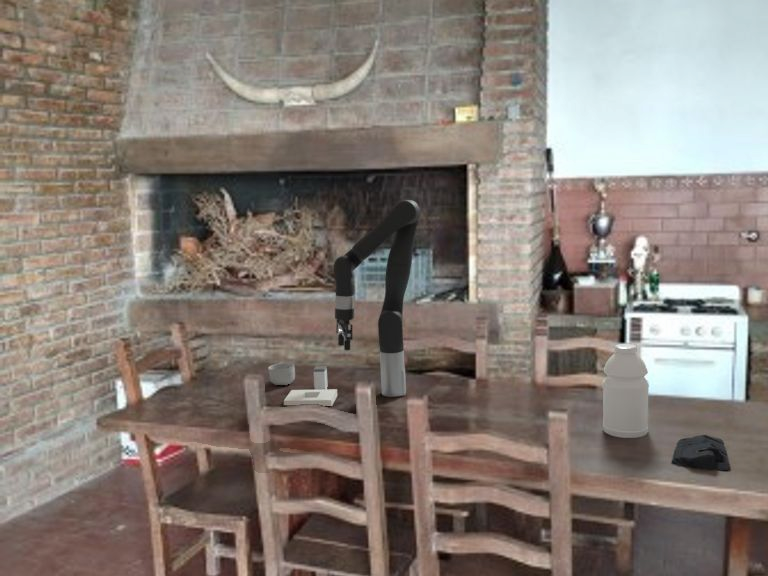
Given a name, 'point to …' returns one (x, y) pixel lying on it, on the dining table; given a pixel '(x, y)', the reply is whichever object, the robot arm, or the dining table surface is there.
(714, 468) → the dark slate chunk
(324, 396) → the socket plate
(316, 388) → the plug
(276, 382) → the teacup
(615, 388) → the bottle
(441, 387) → the dining table surface
